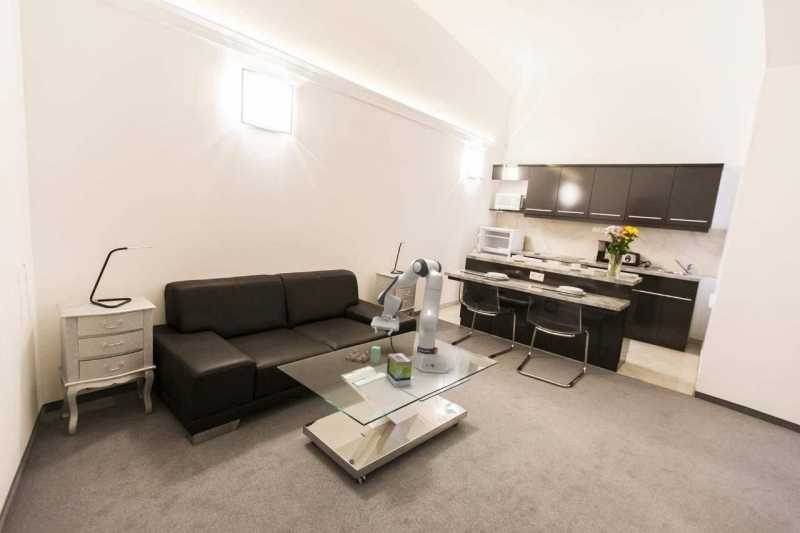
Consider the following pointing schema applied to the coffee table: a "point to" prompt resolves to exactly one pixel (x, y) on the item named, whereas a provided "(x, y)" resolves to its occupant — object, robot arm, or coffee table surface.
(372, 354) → the sage post
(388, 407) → the coffee table surface
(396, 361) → the tea box
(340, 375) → the coffee table surface
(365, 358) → the walnut peg plate
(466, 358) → the coffee table surface
